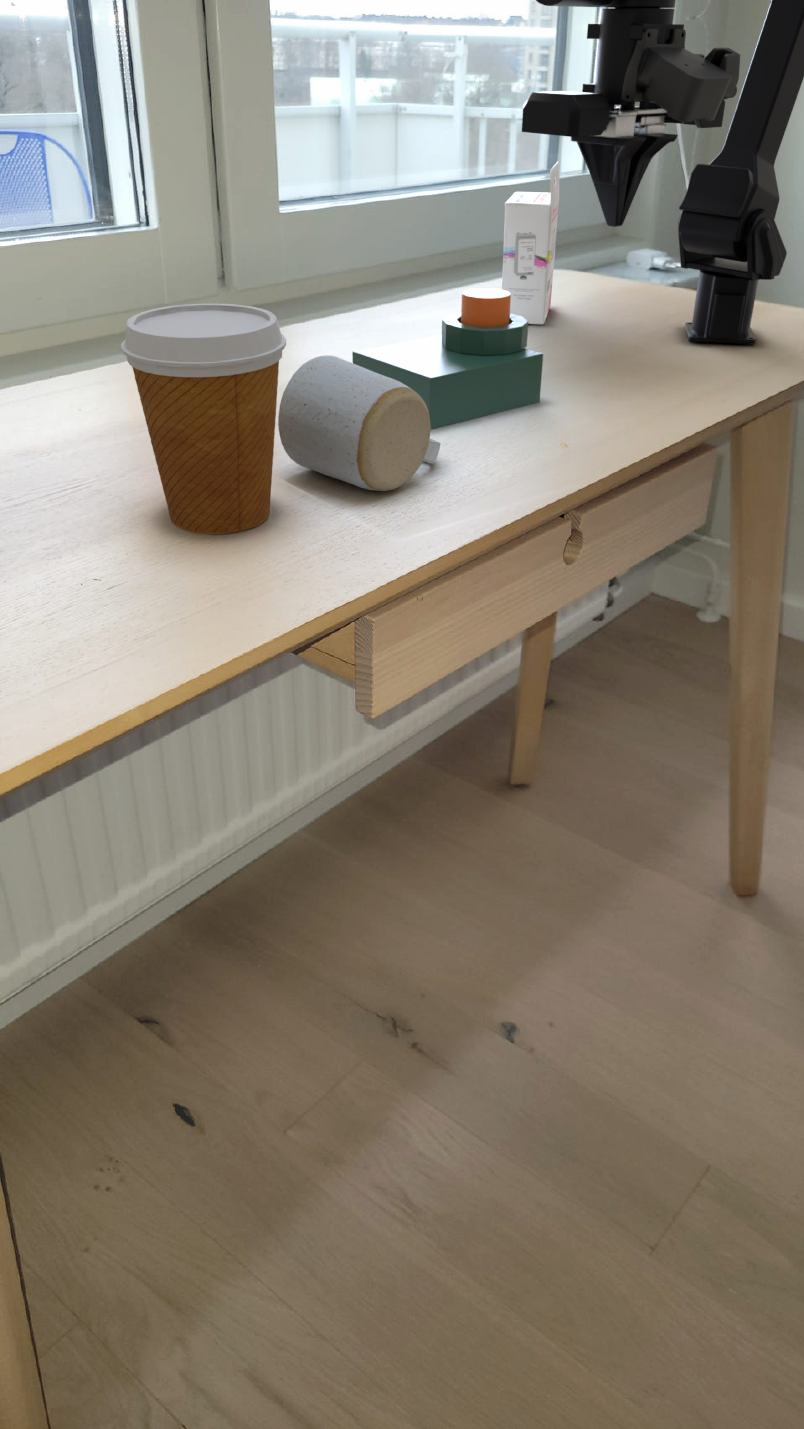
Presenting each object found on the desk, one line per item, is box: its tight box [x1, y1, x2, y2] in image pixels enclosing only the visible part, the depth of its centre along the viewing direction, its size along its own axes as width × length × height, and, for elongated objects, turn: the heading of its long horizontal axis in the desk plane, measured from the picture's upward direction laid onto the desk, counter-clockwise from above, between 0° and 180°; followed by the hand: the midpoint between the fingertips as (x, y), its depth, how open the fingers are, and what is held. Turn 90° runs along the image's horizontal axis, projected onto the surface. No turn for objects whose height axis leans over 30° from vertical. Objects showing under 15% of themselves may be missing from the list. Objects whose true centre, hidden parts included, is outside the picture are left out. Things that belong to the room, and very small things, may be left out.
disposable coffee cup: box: [120, 303, 287, 535], centre depth 65 cm, size 10×10×12 cm
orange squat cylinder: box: [460, 287, 511, 327], centre depth 88 cm, size 4×4×3 cm
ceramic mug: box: [277, 354, 441, 492], centre depth 72 cm, size 11×8×8 cm
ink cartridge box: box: [501, 160, 560, 325], centre depth 112 cm, size 9×5×15 cm, turn 168°
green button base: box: [351, 311, 544, 430], centre depth 88 cm, size 14×10×6 cm
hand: (614, 226), depth 92 cm, fingers closed
